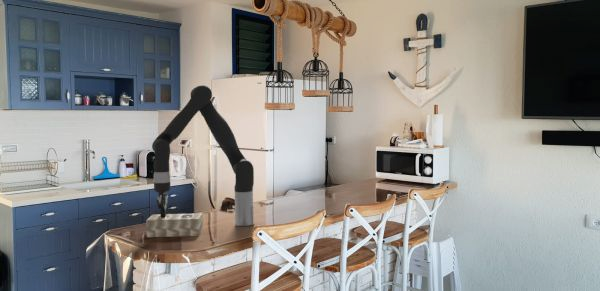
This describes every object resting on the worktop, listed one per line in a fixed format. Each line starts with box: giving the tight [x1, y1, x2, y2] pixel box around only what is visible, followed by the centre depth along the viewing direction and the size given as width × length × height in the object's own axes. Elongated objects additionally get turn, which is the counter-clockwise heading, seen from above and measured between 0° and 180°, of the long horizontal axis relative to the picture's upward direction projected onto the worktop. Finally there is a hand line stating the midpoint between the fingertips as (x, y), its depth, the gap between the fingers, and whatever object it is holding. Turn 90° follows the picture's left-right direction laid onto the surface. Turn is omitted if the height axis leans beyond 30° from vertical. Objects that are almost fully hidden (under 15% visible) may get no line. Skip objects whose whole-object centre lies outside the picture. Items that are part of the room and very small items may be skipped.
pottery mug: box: [220, 197, 235, 212], centre depth 281 cm, size 12×10×8 cm
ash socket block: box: [145, 212, 204, 238], centre depth 228 cm, size 24×12×8 cm, turn 93°
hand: (163, 217), depth 227 cm, fingers closed
